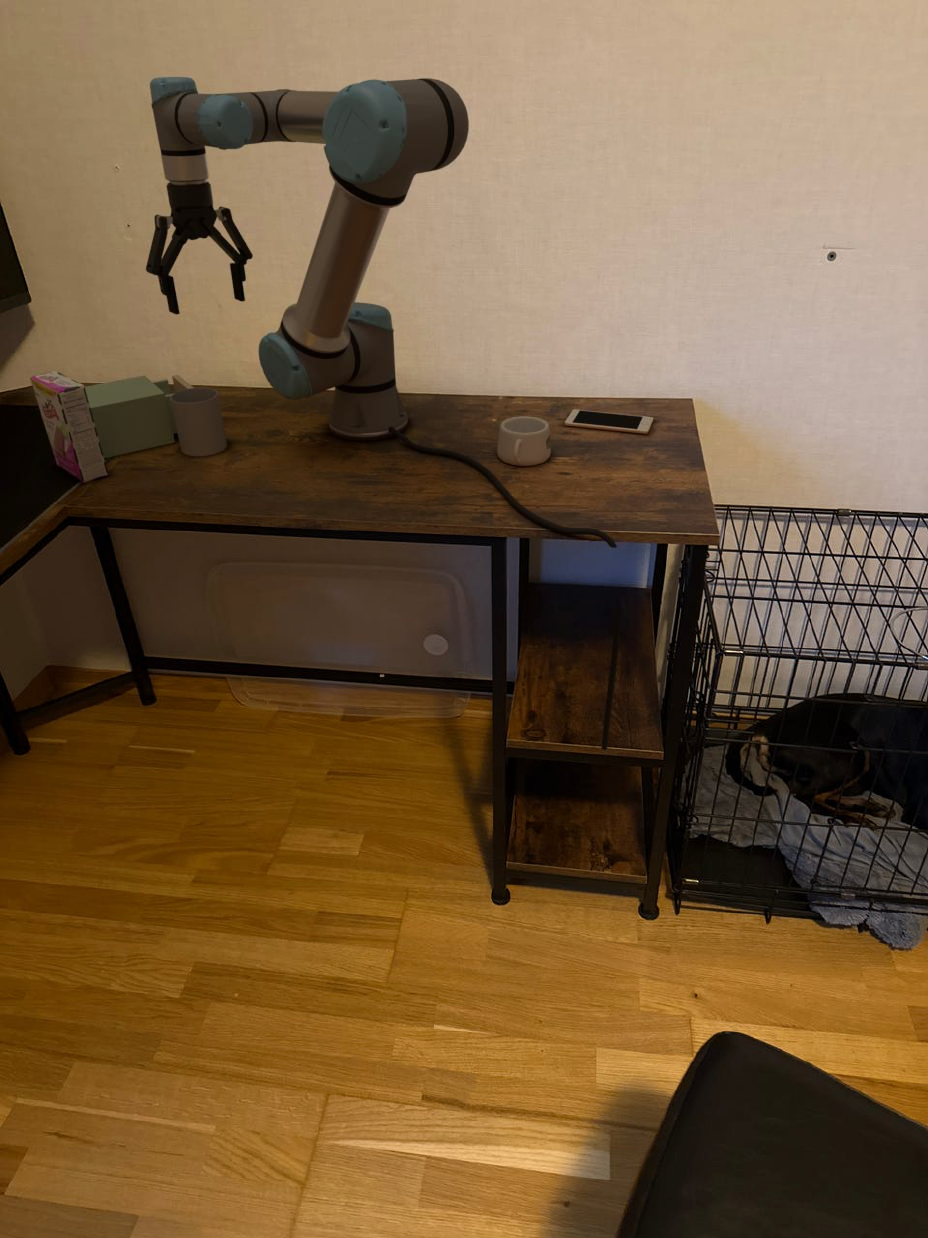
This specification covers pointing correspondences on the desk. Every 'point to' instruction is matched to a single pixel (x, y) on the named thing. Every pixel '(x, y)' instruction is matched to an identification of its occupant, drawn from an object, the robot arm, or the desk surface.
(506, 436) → the mug
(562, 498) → the desk surface
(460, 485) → the desk surface
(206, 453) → the cup
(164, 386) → the drawer
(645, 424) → the cell phone
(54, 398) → the candy bar box
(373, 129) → the robot arm
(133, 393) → the cabinet
